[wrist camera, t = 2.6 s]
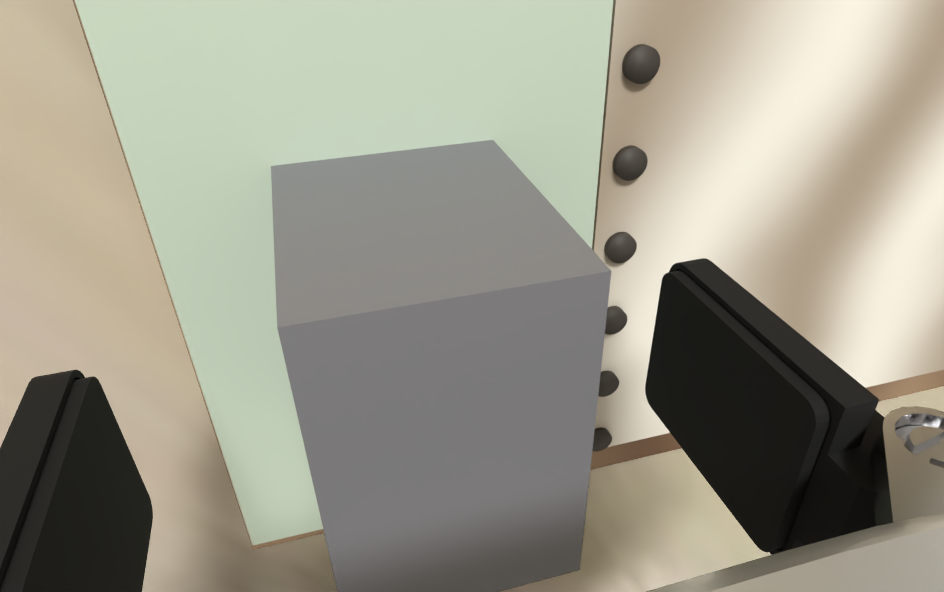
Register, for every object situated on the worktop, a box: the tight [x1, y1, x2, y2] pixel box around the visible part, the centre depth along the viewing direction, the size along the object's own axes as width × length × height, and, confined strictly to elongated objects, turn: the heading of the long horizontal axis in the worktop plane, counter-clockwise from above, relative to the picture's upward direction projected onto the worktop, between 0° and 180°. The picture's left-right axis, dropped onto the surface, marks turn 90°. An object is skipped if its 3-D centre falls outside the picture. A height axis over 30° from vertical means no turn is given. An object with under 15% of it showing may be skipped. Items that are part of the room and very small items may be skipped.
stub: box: [75, 0, 613, 592], centre depth 12 cm, size 8×13×6 cm, turn 2°
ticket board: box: [73, 0, 944, 549], centre depth 16 cm, size 24×16×3 cm, turn 92°
